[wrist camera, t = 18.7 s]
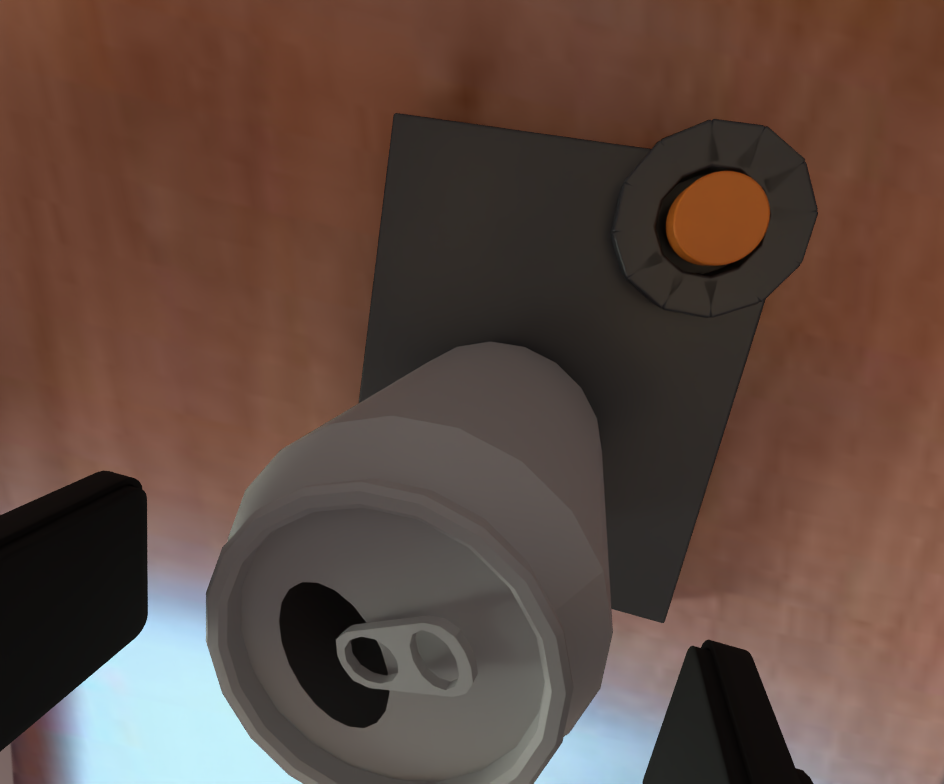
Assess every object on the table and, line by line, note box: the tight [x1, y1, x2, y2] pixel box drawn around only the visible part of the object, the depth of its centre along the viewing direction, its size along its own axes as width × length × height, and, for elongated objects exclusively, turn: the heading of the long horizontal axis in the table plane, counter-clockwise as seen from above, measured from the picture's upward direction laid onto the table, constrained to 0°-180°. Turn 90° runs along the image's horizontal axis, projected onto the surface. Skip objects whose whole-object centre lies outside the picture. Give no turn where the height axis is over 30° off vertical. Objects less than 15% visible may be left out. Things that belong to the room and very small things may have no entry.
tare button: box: [666, 171, 770, 266], centre depth 15 cm, size 2×2×2 cm
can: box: [206, 342, 613, 784], centre depth 14 cm, size 8×8×12 cm
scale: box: [359, 113, 818, 623], centre depth 19 cm, size 17×13×3 cm
